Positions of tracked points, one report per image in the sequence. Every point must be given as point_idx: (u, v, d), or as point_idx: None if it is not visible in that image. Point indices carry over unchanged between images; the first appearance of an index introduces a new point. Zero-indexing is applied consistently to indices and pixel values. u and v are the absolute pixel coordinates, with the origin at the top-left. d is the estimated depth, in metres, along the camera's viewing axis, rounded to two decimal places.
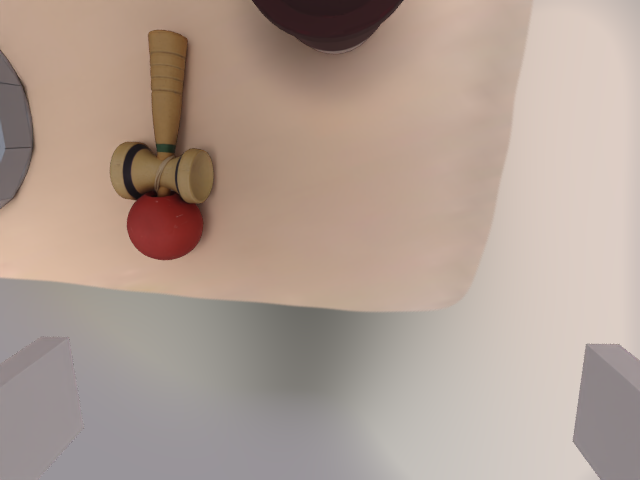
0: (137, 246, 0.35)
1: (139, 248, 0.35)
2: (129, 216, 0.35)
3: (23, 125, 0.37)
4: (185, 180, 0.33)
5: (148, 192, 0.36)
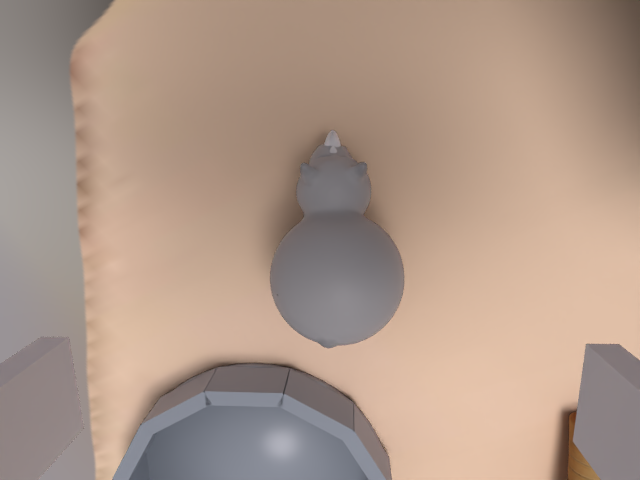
0: None
1: None
2: None
3: None
4: None
5: None
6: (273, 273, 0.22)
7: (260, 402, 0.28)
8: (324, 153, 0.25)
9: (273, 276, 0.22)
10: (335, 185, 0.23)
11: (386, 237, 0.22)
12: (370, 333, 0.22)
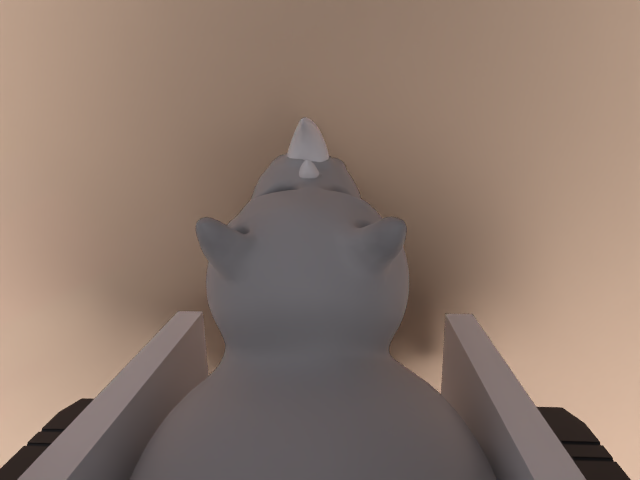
0: None
1: None
2: None
3: None
4: None
5: None
6: None
7: None
8: (285, 179, 0.10)
9: None
10: (306, 287, 0.07)
11: (468, 458, 0.07)
12: None
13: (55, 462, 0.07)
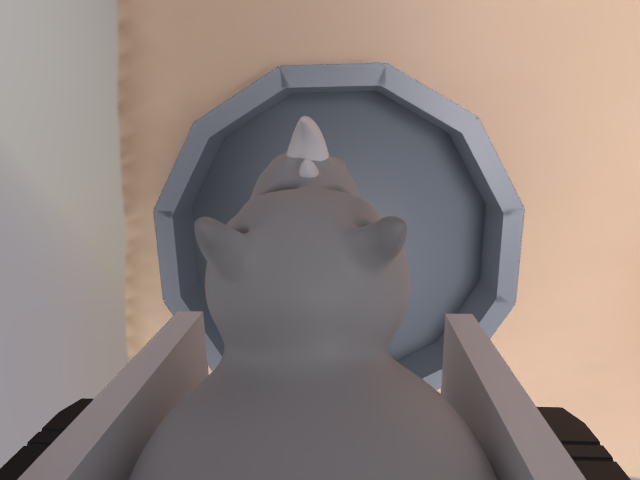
0: None
1: None
2: None
3: None
4: None
5: None
6: None
7: (354, 79, 0.21)
8: (285, 178, 0.09)
9: None
10: (306, 287, 0.07)
11: (469, 460, 0.07)
12: None
13: (55, 462, 0.07)
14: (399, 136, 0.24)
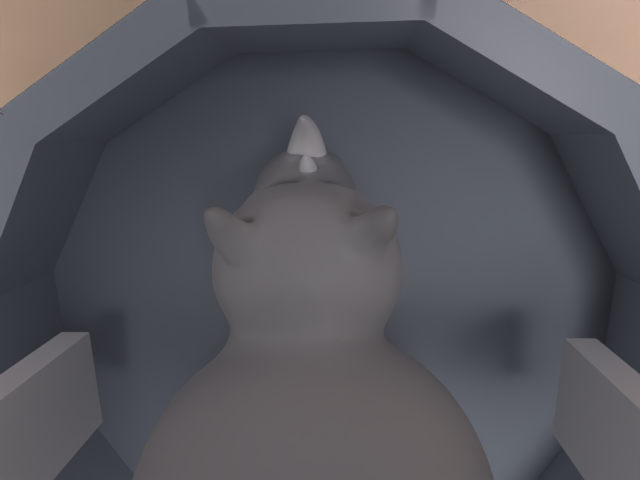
0: None
1: None
2: None
3: None
4: None
5: None
6: None
7: (362, 5, 0.09)
8: (285, 173, 0.10)
9: None
10: (306, 271, 0.08)
11: (456, 427, 0.08)
12: None
13: None
14: (449, 141, 0.12)
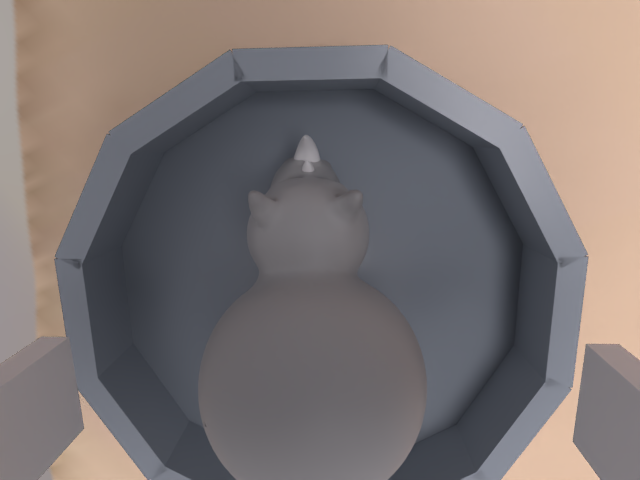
0: None
1: None
2: None
3: None
4: None
5: None
6: (200, 384, 0.13)
7: (342, 69, 0.14)
8: (293, 172, 0.15)
9: (200, 389, 0.13)
10: (308, 229, 0.13)
11: (397, 320, 0.13)
12: None
13: None
14: (404, 152, 0.18)
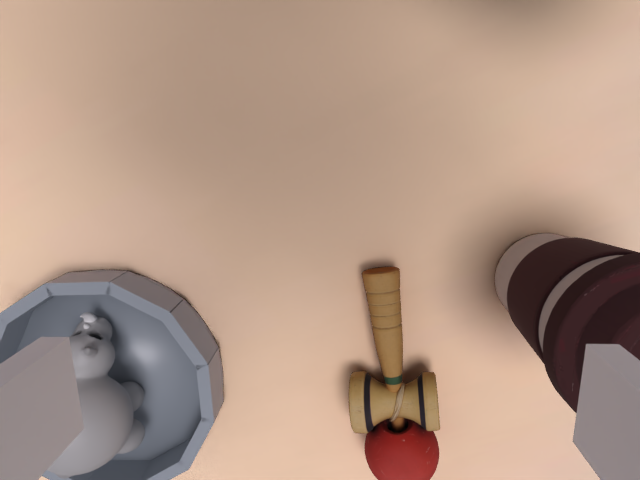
0: None
1: None
2: (375, 457, 0.34)
3: (220, 385, 0.37)
4: (434, 418, 0.33)
5: (381, 422, 0.35)
6: None
7: (91, 290, 0.33)
8: (80, 328, 0.35)
9: None
10: None
11: (105, 399, 0.32)
12: (92, 468, 0.32)
13: None
14: None
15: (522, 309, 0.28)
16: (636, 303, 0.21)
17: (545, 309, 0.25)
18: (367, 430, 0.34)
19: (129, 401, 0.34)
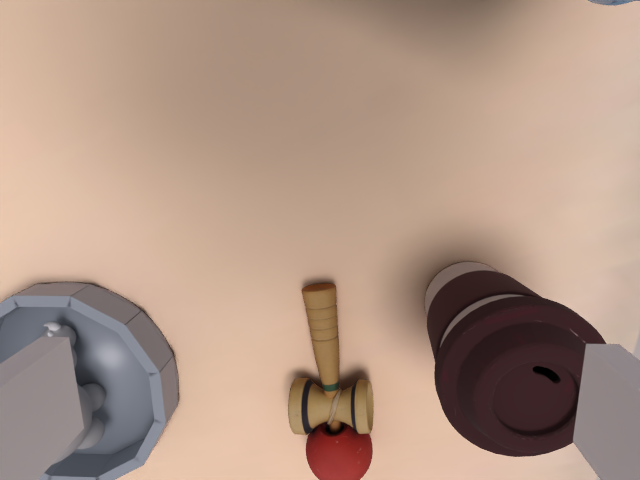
0: None
1: None
2: (312, 456, 0.38)
3: (174, 389, 0.41)
4: (363, 423, 0.36)
5: (320, 425, 0.39)
6: None
7: (54, 303, 0.37)
8: (45, 335, 0.38)
9: None
10: None
11: None
12: None
13: None
14: None
15: (432, 336, 0.31)
16: (502, 343, 0.24)
17: (443, 340, 0.28)
18: (305, 432, 0.38)
19: (88, 403, 0.38)
